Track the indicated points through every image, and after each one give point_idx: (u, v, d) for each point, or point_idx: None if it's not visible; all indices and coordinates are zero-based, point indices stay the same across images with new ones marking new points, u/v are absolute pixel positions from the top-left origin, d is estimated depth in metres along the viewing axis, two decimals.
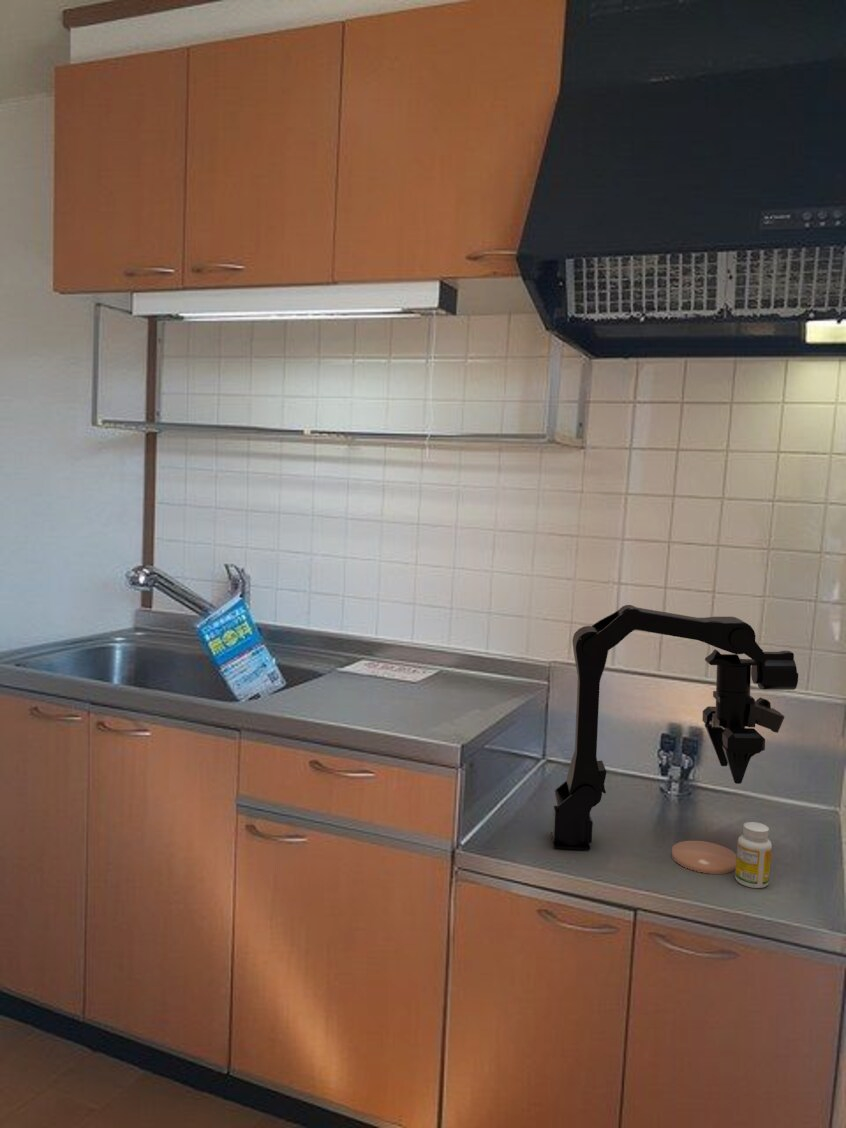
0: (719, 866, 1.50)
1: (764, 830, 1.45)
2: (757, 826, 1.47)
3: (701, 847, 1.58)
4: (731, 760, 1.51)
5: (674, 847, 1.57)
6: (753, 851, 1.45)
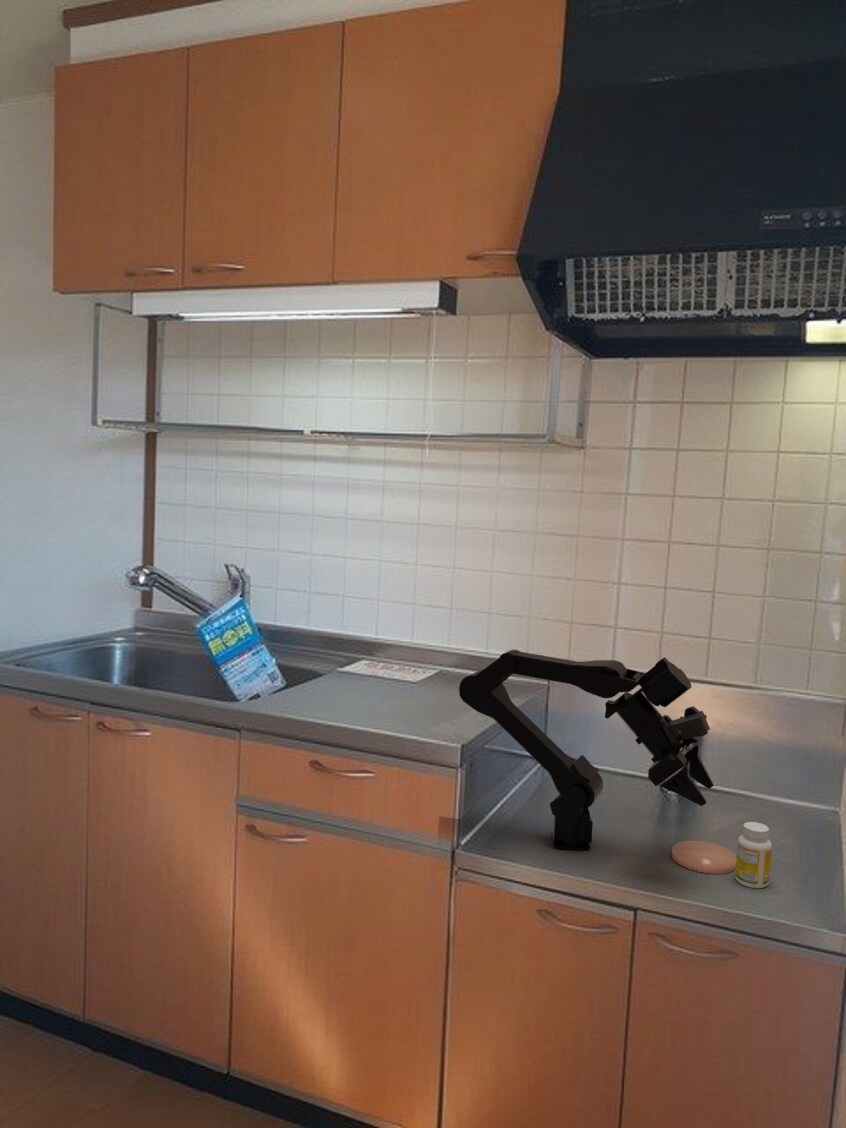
0: (719, 866, 1.50)
1: (764, 830, 1.45)
2: (757, 826, 1.47)
3: (701, 847, 1.58)
4: (676, 790, 1.46)
5: (674, 847, 1.57)
6: (753, 851, 1.45)
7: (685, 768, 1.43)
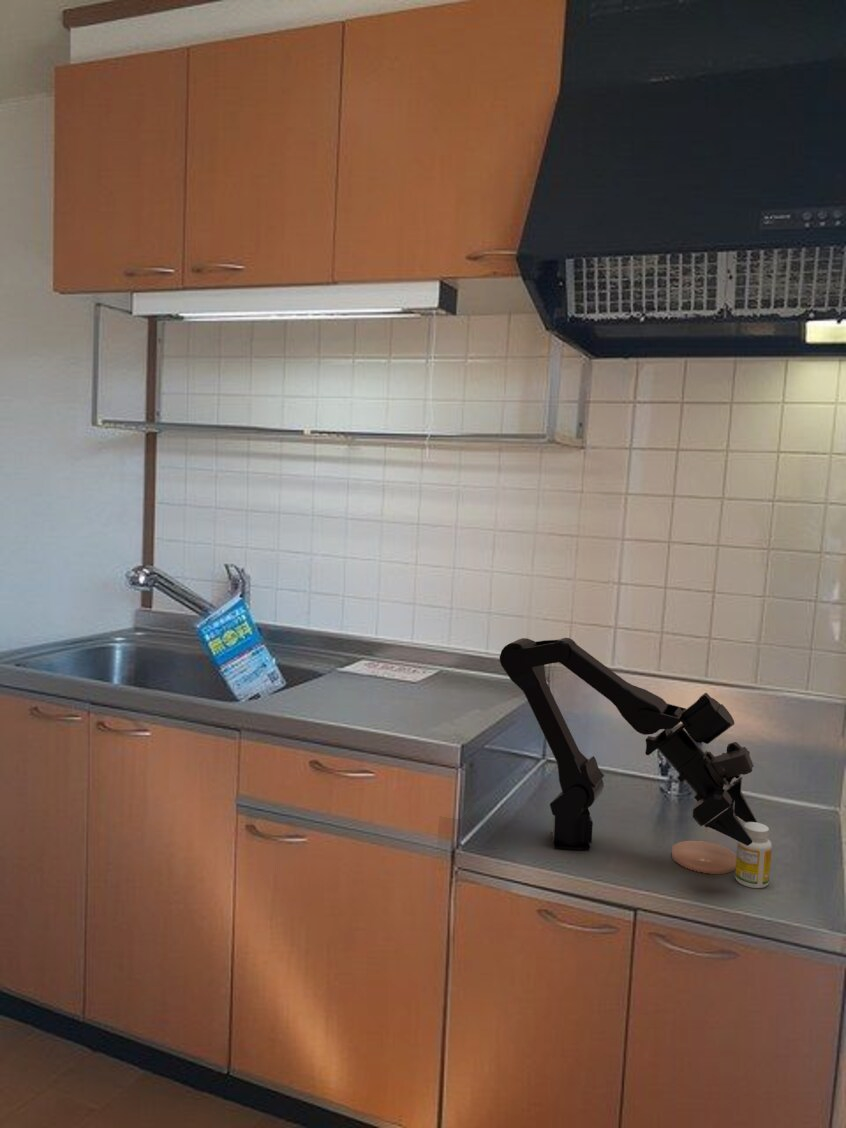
0: (719, 866, 1.50)
1: (764, 830, 1.45)
2: (757, 826, 1.47)
3: (701, 847, 1.58)
4: (721, 829, 1.43)
5: (674, 847, 1.57)
6: (753, 851, 1.45)
7: (731, 808, 1.40)
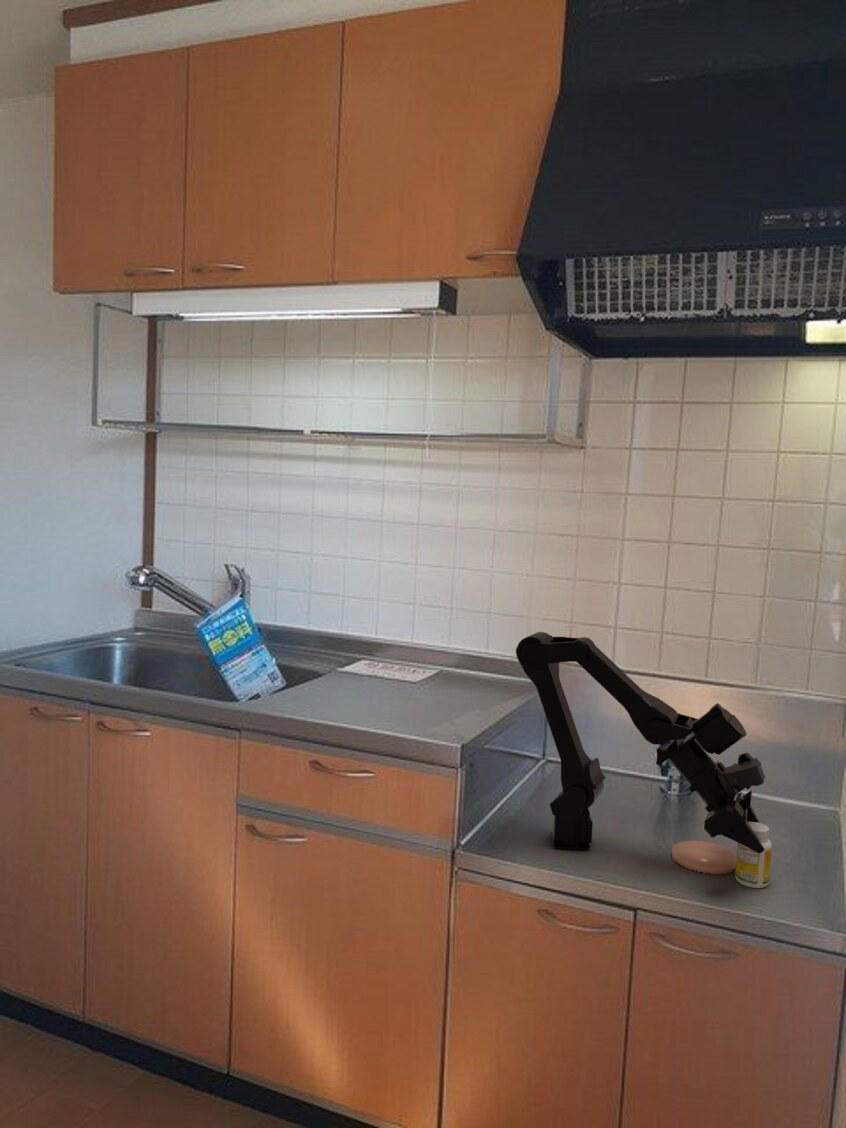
0: (719, 866, 1.50)
1: (764, 830, 1.45)
2: (757, 826, 1.47)
3: (701, 847, 1.58)
4: (733, 837, 1.44)
5: (674, 847, 1.57)
6: (753, 851, 1.45)
7: (744, 816, 1.41)
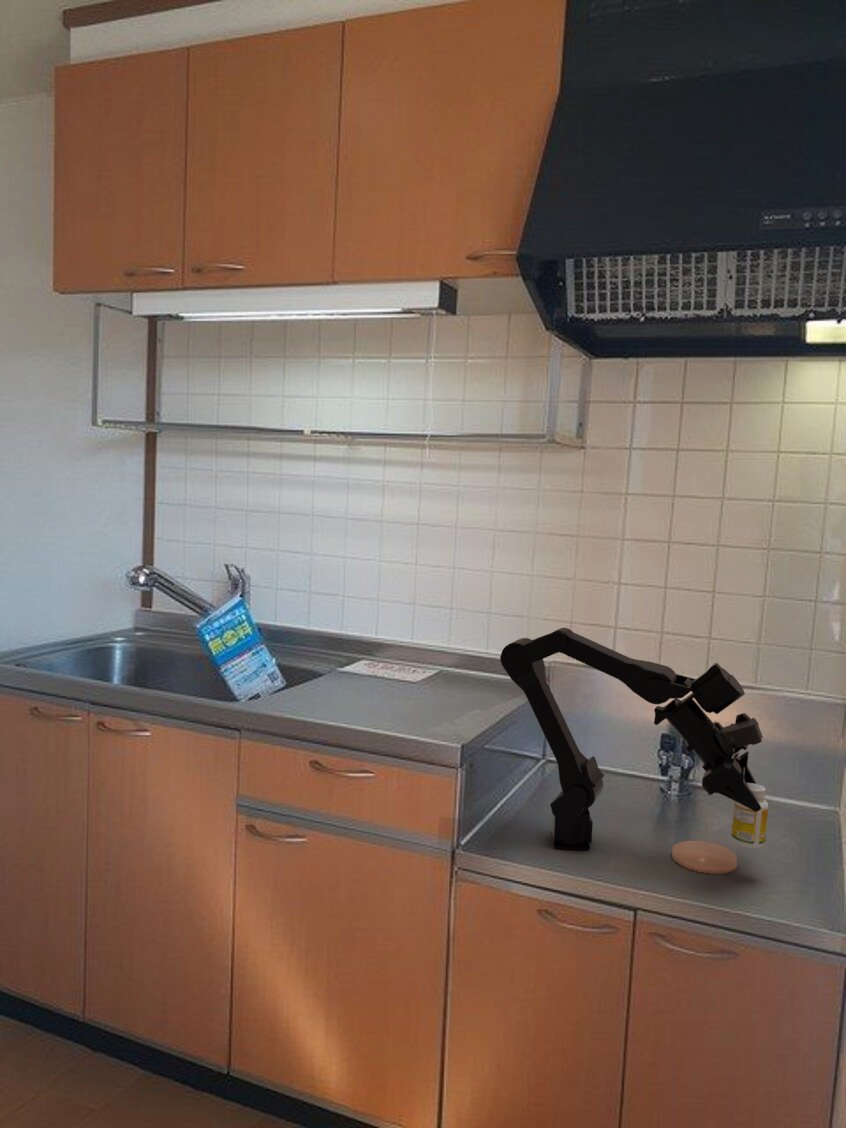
0: (719, 866, 1.50)
1: (761, 790, 1.45)
2: (754, 786, 1.47)
3: (701, 847, 1.58)
4: (731, 795, 1.44)
5: (674, 847, 1.57)
6: (750, 810, 1.45)
7: (741, 773, 1.42)
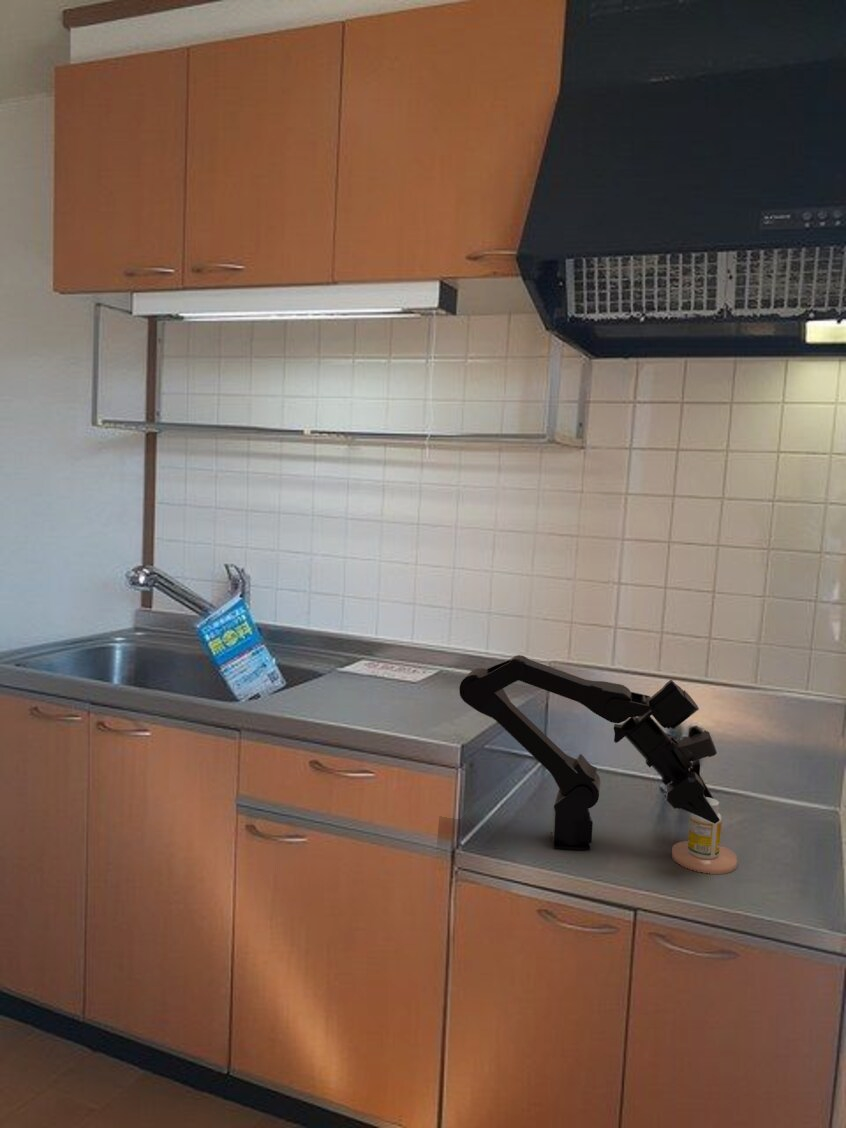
0: (719, 866, 1.50)
1: (715, 804, 1.53)
2: (708, 800, 1.54)
3: None
4: (691, 810, 1.49)
5: (674, 847, 1.57)
6: (707, 824, 1.52)
7: (703, 788, 1.47)
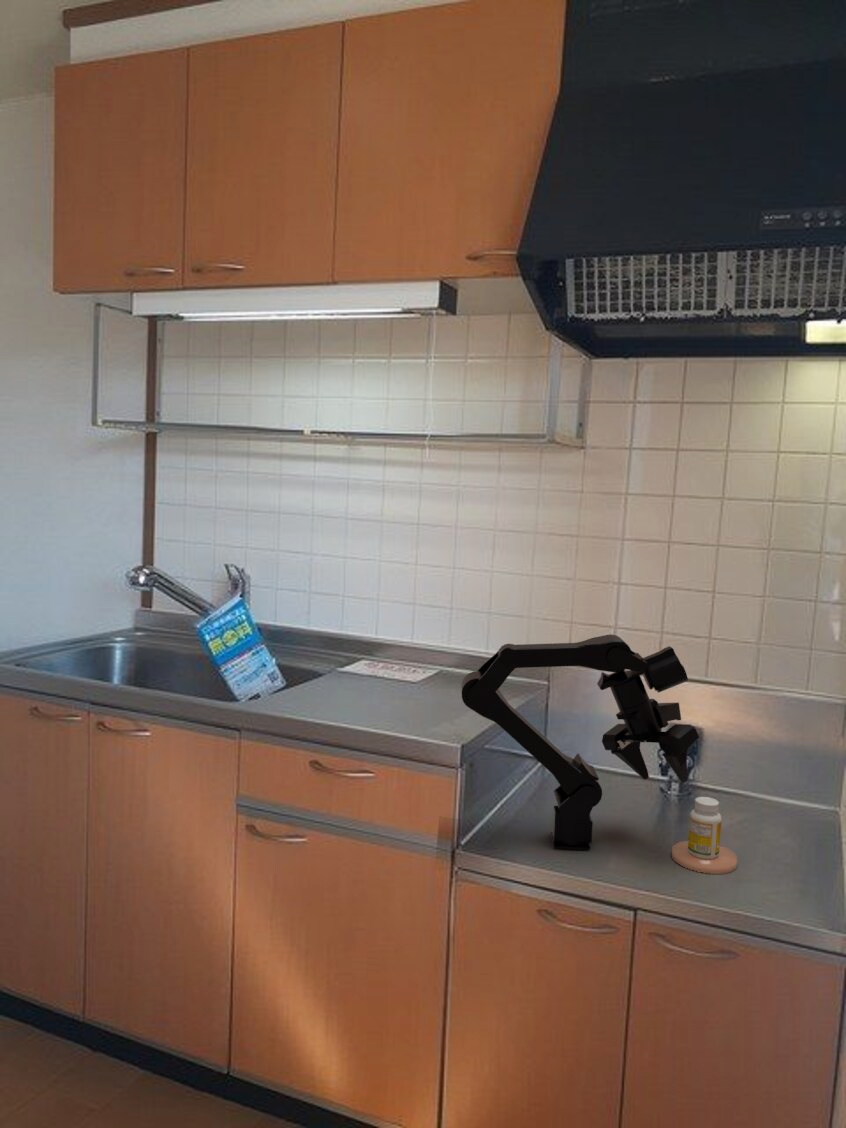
0: (719, 866, 1.50)
1: (715, 804, 1.53)
2: (708, 800, 1.54)
3: None
4: (676, 763, 1.53)
5: (674, 847, 1.57)
6: (707, 824, 1.52)
7: None
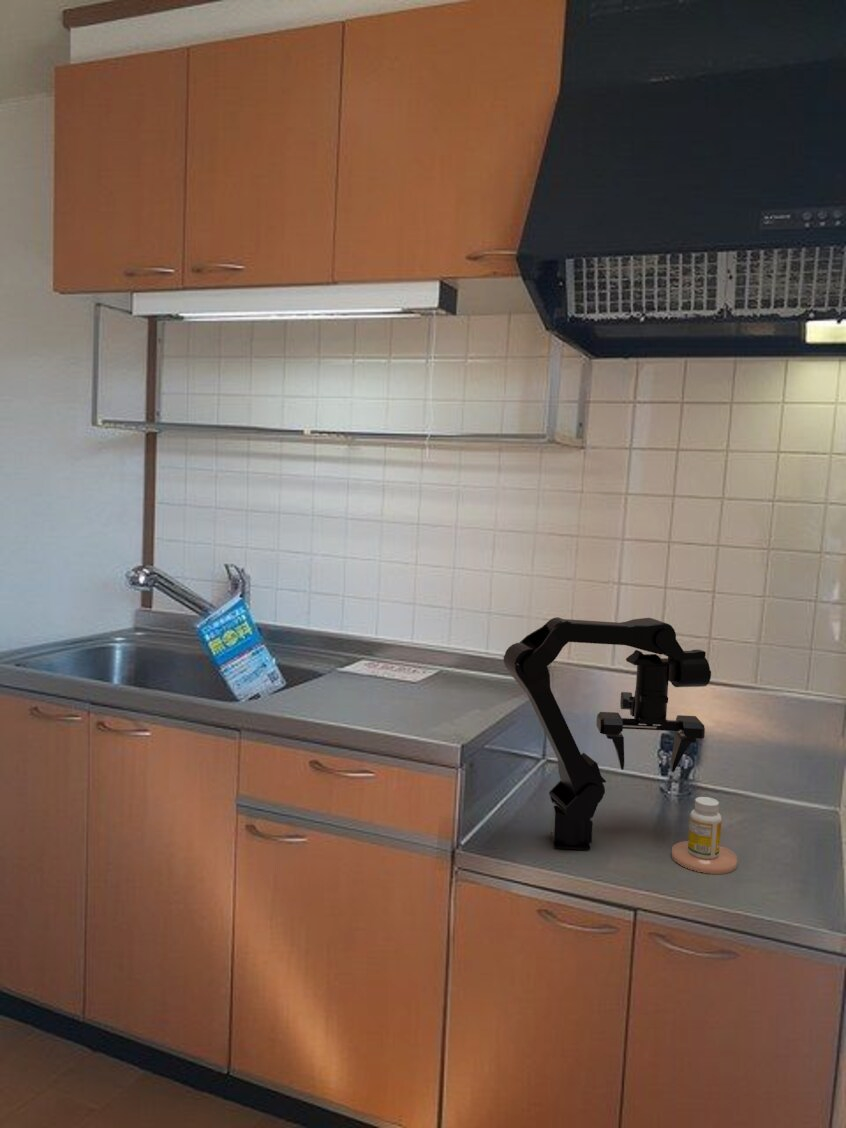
0: (719, 866, 1.50)
1: (715, 804, 1.53)
2: (708, 800, 1.54)
3: None
4: None
5: (674, 847, 1.57)
6: (707, 824, 1.52)
7: None
